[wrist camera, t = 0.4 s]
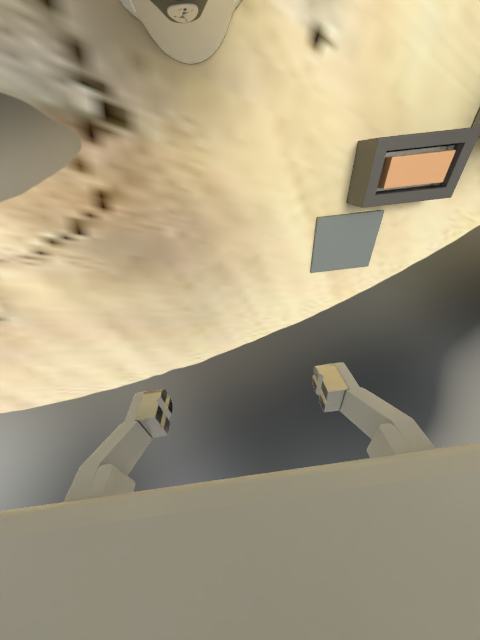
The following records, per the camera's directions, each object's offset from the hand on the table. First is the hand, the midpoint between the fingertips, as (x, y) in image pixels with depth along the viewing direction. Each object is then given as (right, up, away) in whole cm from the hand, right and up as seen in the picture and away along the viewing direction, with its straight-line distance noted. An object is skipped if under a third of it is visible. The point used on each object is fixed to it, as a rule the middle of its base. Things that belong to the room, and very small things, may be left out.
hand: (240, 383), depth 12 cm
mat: (+27, +24, +43) cm, 56 cm away
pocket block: (+34, +36, +34) cm, 61 cm away
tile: (+34, +34, +31) cm, 57 cm away
